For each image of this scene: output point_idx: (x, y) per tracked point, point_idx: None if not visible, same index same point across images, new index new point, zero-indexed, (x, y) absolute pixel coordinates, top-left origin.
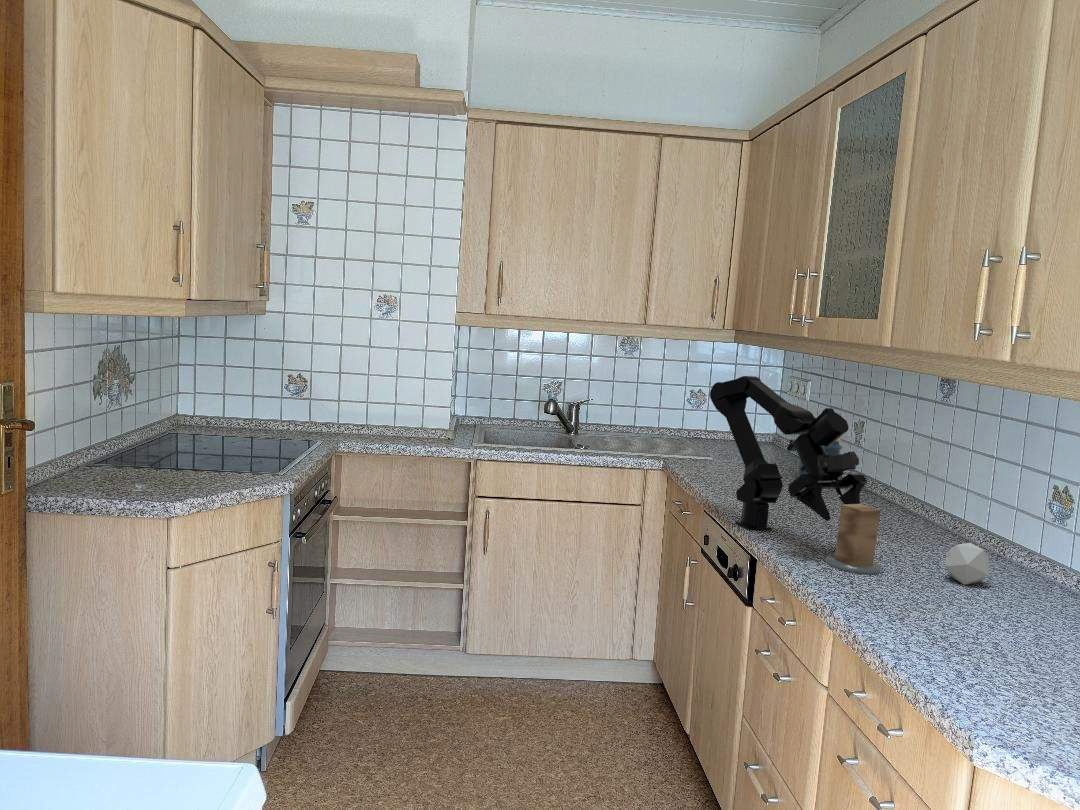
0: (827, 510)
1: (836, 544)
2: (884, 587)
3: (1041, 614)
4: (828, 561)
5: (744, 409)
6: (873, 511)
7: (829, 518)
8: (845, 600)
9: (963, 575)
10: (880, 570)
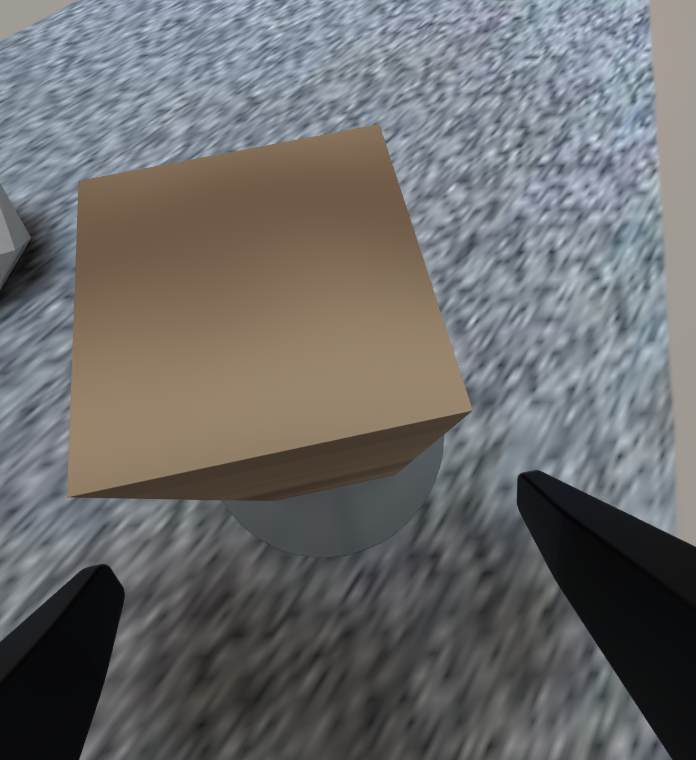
0: (588, 523)
1: (403, 467)
2: None
3: (55, 56)
4: (442, 450)
5: None
6: (200, 168)
7: (534, 471)
8: (580, 118)
9: (13, 210)
10: None
